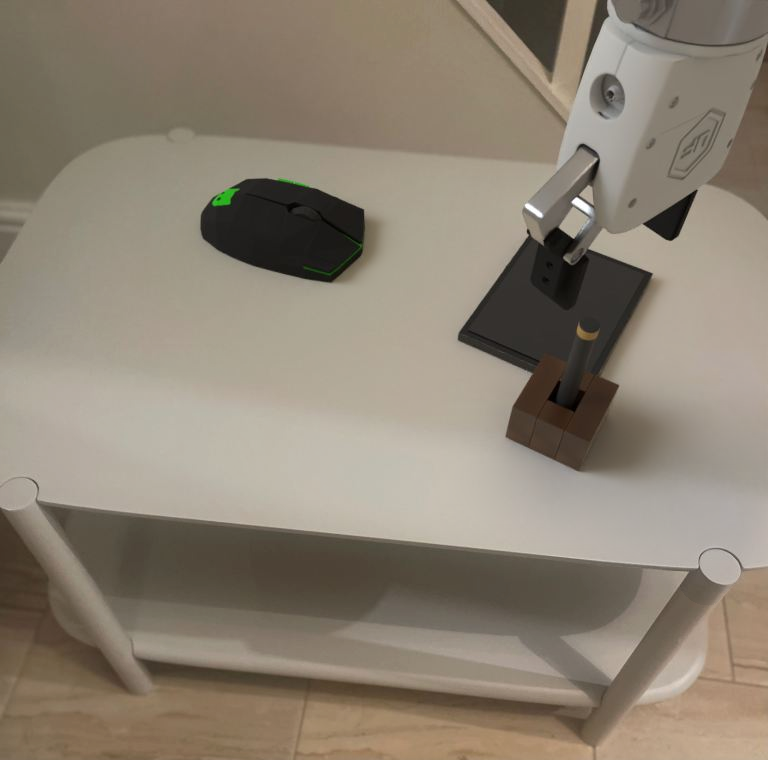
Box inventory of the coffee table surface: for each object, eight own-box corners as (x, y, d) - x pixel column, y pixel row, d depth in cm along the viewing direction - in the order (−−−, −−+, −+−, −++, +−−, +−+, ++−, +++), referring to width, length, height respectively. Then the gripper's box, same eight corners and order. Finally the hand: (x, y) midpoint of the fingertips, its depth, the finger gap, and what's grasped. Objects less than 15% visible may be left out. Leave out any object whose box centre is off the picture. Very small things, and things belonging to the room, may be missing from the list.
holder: (607, 415, 64) (619, 384, 61) (578, 471, 60) (590, 442, 57) (536, 384, 66) (545, 352, 63) (504, 436, 62) (512, 406, 59)
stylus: (568, 423, 63) (603, 321, 54) (561, 436, 62) (595, 334, 53) (552, 416, 64) (583, 313, 54) (544, 428, 63) (575, 326, 54)
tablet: (650, 280, 74) (653, 272, 73) (587, 397, 65) (589, 389, 64) (532, 234, 77) (533, 226, 76) (457, 339, 69) (458, 332, 68)
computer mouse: (233, 176, 82) (228, 144, 79) (383, 212, 79) (384, 179, 76) (181, 246, 75) (172, 213, 72) (342, 288, 72) (341, 256, 69)
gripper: (640, 85, 31) (554, 363, 44) (873, -37, 38) (737, 235, 51) (504, 8, 34) (463, 287, 48) (740, -91, 41) (646, 177, 55)
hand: (605, 260), depth 49 cm, fingers open, 9 cm apart
